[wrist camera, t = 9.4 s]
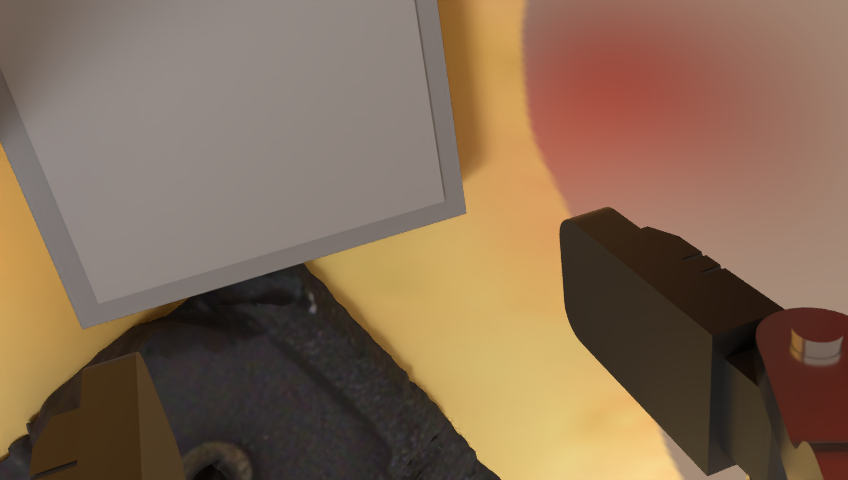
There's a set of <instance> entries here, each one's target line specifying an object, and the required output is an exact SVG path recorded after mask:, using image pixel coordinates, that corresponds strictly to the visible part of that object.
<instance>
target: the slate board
mask: <svg viewBox="0 0 848 480" xmlns="http://www.w3.org/2000/svg"><path fill="white" fill-rule="evenodd" d="M0 142H1V144H2V146H3V148H4V151H5V153H6V155H7V158H8V160H9V162H10V164H11V167H12V169H13V171H14V174H15V176H16V178H17V181H18V183H19V185H20V187H21V190H22V192H23V194H24V197H25V199H26V201H27V203H28V206H29V208H30V210H31V213H32V215H33V217H34V220H35V222H36V224H37V226H38V229H39V231H40V233H41V236H42V238H43V240H44V242H45V245H46V247H47V249H48V252H49V254H50V256H51V259H52V261H53V263H54V265H55V268H56V270H57V272H58V275H59V277H60V279H61V281H62V284H63V286H64V288H65V291H66V293H67V295H68V297H69V300H70V302H71V304H72V307H73V309H74V311H75V314H76V316H77V318H78V320H79V323H80V325H81V327H82V329H85V328H88V327H92V326H95V325H98V324H102V323H105V322H108V321H112V320H115V319H118V318H122V317H125V316H128V315H132V314H135V313H138V312H141V311H145V310H148V309H151V308H155V307H158V306H161V305H165V304H168V303H171V302H175V301H178V300H181V299H185V298H188V297H191V296H194V295H198V294H201V293H204V292H208V291H211V290H214V289H218V288H221V287H224V286H228V285H231V284H234V283H238V282H241V281H244V280H247V279H251V278H254V277H257V276H261V275H264V274H267V273H271V272H274V271H277V270H281V269H284V268H287V267H291V266H294V265H297V264H300V263H304V262H307V261H310V260H314V259H317V258H320V257H324V256H327V255H330V254H334V253H337V252H340V251H344V250H347V249H350V248H353V247H357V246H360V245H363V244H367V243H370V242H373V241H377V240H380V239H383V238H387V237H390V236H393V235H397V234H400V233H403V232H406V231H410V230H413V229H416V228H420V227H423V226H426V225H430V224H433V223H436V222H440V221H443V220H446V219H450V218H453V217H456V216H459V215H463V214H466V206H465V199H464V192H463V185H462V177H461V170H460V163H459V156H458V148H457V141H456V134H455V127H454V120H453V112H452V105H451V98H450V91H449V83H448V76H447V69H446V62H445V54H444V47H443V40H442V33H441V25H440V18H439V11H438V4H437V0H0Z"/></svg>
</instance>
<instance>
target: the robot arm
mask: <svg viewBox="0 0 848 480" xmlns="http://www.w3.org/2000/svg"><path fill="white" fill-rule="evenodd" d="M560 249H561V263H562V276H563V290H564V303H565V309H566V313H567V317H568V320H569V323H570V325H571V327H572V329H573V331H574V333H575V335H576V336H577V338H578V339H579V341H580V342H581V343H582V344H583V345H584V346H585V347H586V348H587V349H588V350H589V351H590V352H591V353H592V355H593V356H594V357H595V358H596V359H597V360H598V361H599V362H600V363H601V364H602V365H603V366H604V367H605V368H606V369H607V370H608V371H609V373H610V374H611V375H612V376H613V377H614V378H615V379H616V380H617V381H618V382H619V383H620V384H621V385H622V386H623V387H624V388H625V389H626V391H627V392H628V393H629V394H630V395H631V396H632V397H633V398H634V399H635V400H636V401H637V402H638V403H639V404H640V405H641V406H642V408H643V409H644V410H645V411H646V412H647V413H648V414H649V415H650V416H651V417H652V418H653V419H654V420H655V421H656V422H657V423H658V424H659V426H660V427H661V428H662V429H663V430H664V431H665V432H666V433H667V434H668V435H669V436H670V437H671V438H672V439H673V440H674V441H675V442H676V443H677V445H678V446H680V448H681V449H682V450H683V451H684V452H685V453H686V454H687V455H688V456H689V457H690V458H691V459H692V460H693V461H694V463H695V464H696V465H697V466H698V467H699V468H700V469H701V470H702V471H703V472H704V473H705V474H706V475H707V476H709V475H712V474H714V473H717V472H719V471H722V470H724V469H726V468H729V467H731V466H734V465H736V464H737V465H738V466H739V467H740V468H742V470H743V471H744V472H745V473H746V480H848V315H845V314H843V313H839V312H836V311H832V310H827V309H821V308H807V307H806V308H805V307H804V308H803V307H801V308H791V309H786V310H785V309H783V308H782V307H781V306H779V305H778V304H776V303H775V302H773V301H772V300H770V299H769V298H767V297H766V296H765V295H763V294H762V293H760V292H759V291H757V290H756V289H754V288H753V287H752V286H750V285H748V284H747V283H746V282H744V281H743V280H741V279H740V278H738V277H737V276H736V275H734V274H733V273H731V272H730V271H728V270H727V269H726V268H724V269H721V267H720V264H718V263H717V262H715V261H714V260H712V259H711V258H710V257H708V256H707V255H705V256H703V255H702V252H701V251H699V250H698V249H697V248H695V247H694V246H692V245H691V244H689V243H688V242H686V241H685V240H683V239H682V238H681V237H679V236H676V235H673V234H670V233H666V232H664V231H660V230H657V229H654V228H651V227H645V228H642V229H640V228H639V227H637V226H636V225H635V224H633V223H632V222H631V221H629V220H628V219H627V218H625V217H624V216H622V215H621V214H620V213H618V212H617V211H616V210H614V209H612V208H610V207H605V208H602V209H598V210H595V211H592V212H589V213H586V214H582V215H579V216H576V217H573V218H570V219H566V220H564V221H563V222H562V224H561V226H560ZM29 478H30V480H185V474H184V469H183V464H182V460H181V457H180V453H179V449H178V446H177V443H176V440H175V437H174V434H173V432H172V429H171V427H170V424H169V422H168V419H167V417H166V414H165V412H164V409H163V407H162V404H161V402H160V399H159V397H158V394H157V392H156V389H155V387H154V384H153V382H152V379H151V377H150V374H149V372H148V369H147V367H146V364H145V362H144V360H143V358H142V356H141V354H140V353H139V352H135V353H132V354H129V355H125V356H122V357H119V358H116V359H112V360H109V361H106V362H103V363H100V364H96V365H93V366H90V367H87V368H84V369H83V371H82V382H81V400H80V408H78V409H74V410H71V411H68V412H65V413H62V414H59V415H56V416H53V417H52V418H51V419H50V421H49V422H48V424H47V426H46V427H45V429H44V430H43V432H42V433H41V435H40V436H39V438H38V439H37V441H36V443H35V444H34V446H33V448H32V456H31V463H30V471H29Z"/></svg>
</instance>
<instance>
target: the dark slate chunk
mask: <svg viewBox="0 0 848 480" xmlns="http://www.w3.org/2000/svg"><path fill="white" fill-rule="evenodd" d="M135 352H139V353H140V354H141V356H142V358H143V360H144V362H145V364H146V367H147V369H148V372H149V374H150V377H151V379H152V382H153V384H154V387H155V389H156V392H157V394H158V397H159V399H160V402H161V404H162V407H163V409H164V412H165V414H166V417H167V419H168V422H169V424H170V427H171V429H172V432H173V434H174V437H175V440H176V443H177V446H178V449H179V453H180V457H181V460H182V464H183V469H184V474H185V480H501V479H500V478H499V477H498V476H497V475H496V474H495V473H494V472H492V471H491V470H489V469H488V468H487V467H486V466H484V465H483V464H481V463H480V462H479V461H478V459H477V457H476V453H475V451H474V450H473V449H472V448H470V447H469V446H468V443H467V441H466V440H465V439H464V438H463V437H462V436H461V435H459V434H458V433H457V432H456V431H455V429H454V427H453V426H452V424H451V423H450V421H449V420H448V419H447V418H446V417H445V416H444V415H443V413H442V412H441V411H440V409H439V408H438V406H437V405H436V404H435V403H434V402H432V401H431V400H430V399H429V397H428V395H427V394H426V393H425V392H424V391H423V390H422V389H420V388H419V387H418V386H417V385H416V384H415V383H413V382H411V381H409V378H408V375H407V373H406V372H405V371H404V370H403V369H401V368H400V367H399V366H398V365H397V364H396V363H395V361H394V360H393V359H392V357H391V356H390V355H389V354H388V353H387V352H386V351H384V350H383V349H382V348H381V347H380V346H379V345H378V344H377V343H376V342H375V341H374V340H373V339H372V337H371V336H370V335H369V333H368V332H367V331H366V330H364V329H363V328H362V327H361V326H360V325H359V324H358V323H357V322H356V321H355V320H354V319H353V318H352V317H351V316H350V315H349V313H348V312H347V310H346V309H345V308H344V307H343V306H342V305H340V304H339V303H338V302H337V301H336V300H335V298H334V297H333V295H332V294H331V293H330V291H329V290H328V288H327V287H326V286H325V284H324V283H323V282H321V281H320V280H319V279H318V278H316V277H315V276H314V275H313V274H312V273H311V272H310V271H309V270H308V269H307V267H306V266H305V265H304V263H300V264H297V265H294V266H291V267H287V268H284V269H281V270H277V271H274V272H271V273H267V274H264V275H261V276H257V277H254V278H251V279H247V280H244V281H241V282H238V283H234V284H231V285H228V286H224V287H221V288H218V289H214V290H211V291H208V292H204V293H201V294H198V295H194V296H191V297H189V298H188V299H187V300H186V301H185V302H184V303H182V304H181V305H180V306H179V307H178V308H176V309H175V310H174V311H172V312H171V313H170V314H169V315H167V316H166V317H162V318H158V319H156V320H154V321H152V322H149V323H146V324H140V325H138V326H136V327H133V328H131V329H129V330H128V331H127V332H125V333H124V334H123V335H121V336H120V337H119V338H118V339H116V340H115V341H114V342H113V343H112V344H110V345H109V346H108V347H106V348H105V349H103V350H102V351H100V352H99V353H98V354H97V355H96V356H95V357H94V358H93V359H92V360H91V361H90V362H89V363H88V364H87V365H86V366H85V367H83V368H82V369H81V370H80V371H79V372H78V373H77V374H75V375H74V376H73V377H72V378H71V379H70V380H68V381H67V382H66V383H65V384H63V385H62V386H61V387H60V388H59V389H58V390H56V391H55V392H54V393H53V394H52V395H51V396H50V397H49V398H48V399H47V400H46V401H45V402H44V404H43V405H42V408H41V411H40V414H39V416H38V418H37V420H36V421H33V422H30V423H27V424H26V426H27V430H28V433H29V434H28V435H26V436H25V437H23V438H22V439H20V440H19V441H17V442H15V443H14V444H12V445H11V446H10V447H9V448H8V450H9V453H10V456H9V457H8V458H7V459H6V460H4V461H3V462H1V463H0V480H30V478H29V471H30V463H31V456H32V448H33V446H34V444H35V443H36V441H37V439H38V438H39V436H40V435H41V433H42V432H43V430H44V429H45V427H46V426H47V424H48V422H49V421H50V419H51V418H52V417H53V416H56V415H59V414H62V413H65V412H68V411H71V410H74V409H78V408H80V400H81V382H82V371H83V369H84V368H87V367H90V366H93V365H96V364H100V363H103V362H106V361H109V360H112V359H116V358H119V357H122V356H125V355H129V354H132V353H135Z"/></svg>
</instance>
